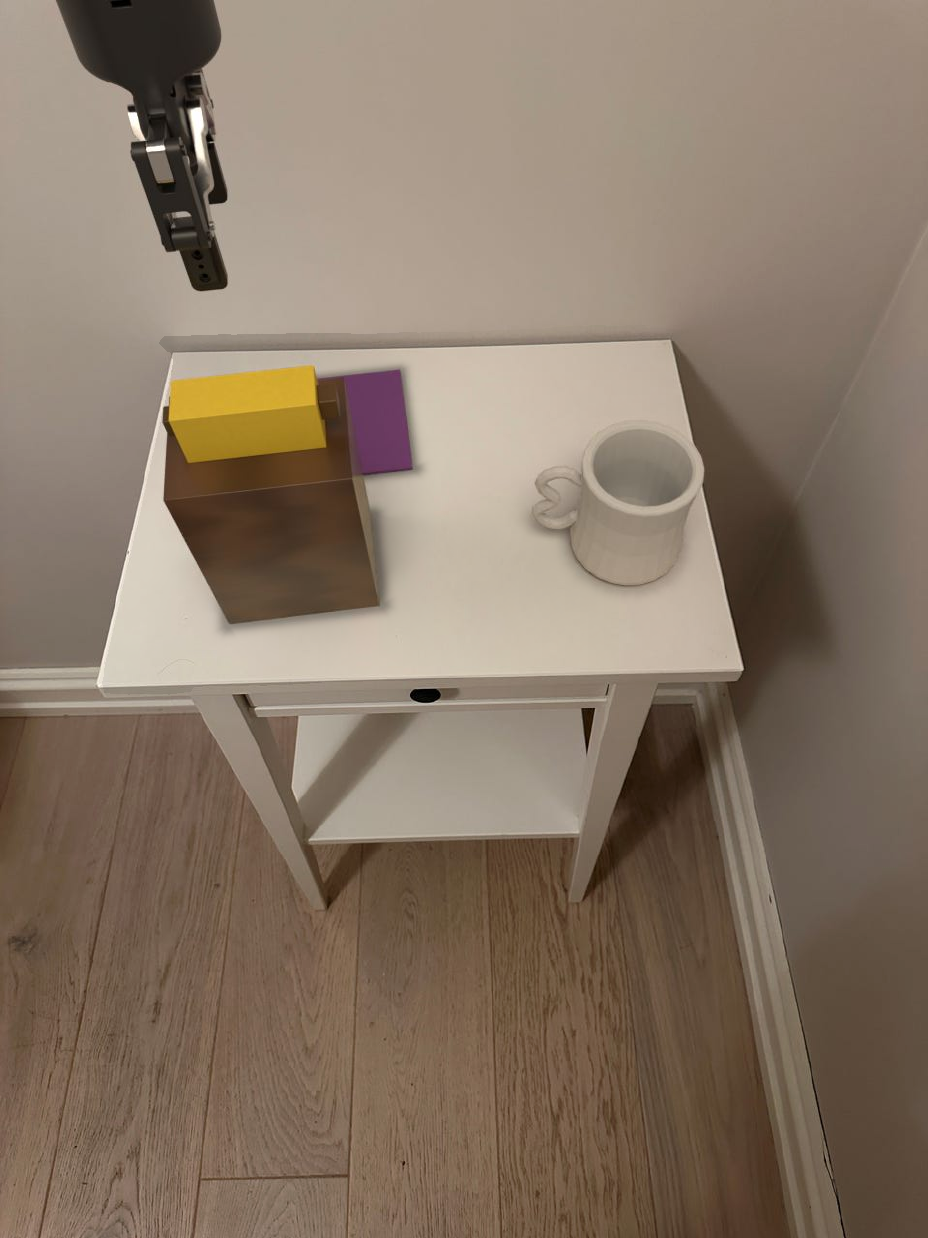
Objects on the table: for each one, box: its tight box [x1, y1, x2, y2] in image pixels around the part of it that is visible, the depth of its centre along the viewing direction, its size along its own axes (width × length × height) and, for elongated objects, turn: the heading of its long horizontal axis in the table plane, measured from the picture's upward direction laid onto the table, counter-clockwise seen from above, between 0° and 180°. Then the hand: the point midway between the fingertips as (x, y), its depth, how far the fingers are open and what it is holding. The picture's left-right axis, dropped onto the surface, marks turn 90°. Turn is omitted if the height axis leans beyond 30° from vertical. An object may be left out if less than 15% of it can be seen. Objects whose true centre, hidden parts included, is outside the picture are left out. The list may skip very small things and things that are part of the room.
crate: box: [162, 377, 380, 625], centre depth 64 cm, size 12×9×16 cm
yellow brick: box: [161, 364, 340, 463], centre depth 55 cm, size 11×3×4 cm, turn 97°
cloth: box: [317, 368, 414, 476], centre depth 78 cm, size 14×12×1 cm
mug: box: [531, 419, 706, 586], centre depth 67 cm, size 12×9×10 cm
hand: (212, 242), depth 55 cm, fingers open, 8 cm apart
